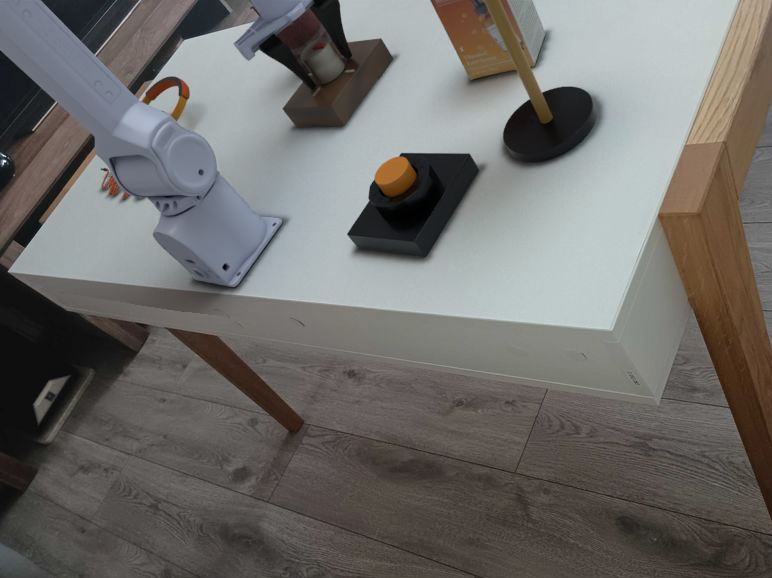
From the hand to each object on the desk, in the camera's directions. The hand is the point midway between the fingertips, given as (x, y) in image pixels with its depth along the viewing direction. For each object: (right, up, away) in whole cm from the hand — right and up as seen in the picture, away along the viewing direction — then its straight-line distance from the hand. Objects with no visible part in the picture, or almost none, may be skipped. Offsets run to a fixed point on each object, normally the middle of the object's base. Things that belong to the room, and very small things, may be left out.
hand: (329, 70), depth 92 cm
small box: (+22, -2, -10) cm, 24 cm away
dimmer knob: (0, 0, 0) cm, 0 cm away
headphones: (-29, -5, +19) cm, 35 cm away
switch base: (+12, -21, -19) cm, 30 cm away
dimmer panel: (+2, -2, +2) cm, 3 cm away
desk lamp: (+25, -13, -21) cm, 35 cm away
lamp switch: (+11, -18, -21) cm, 30 cm away
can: (-3, +5, +11) cm, 13 cm away
